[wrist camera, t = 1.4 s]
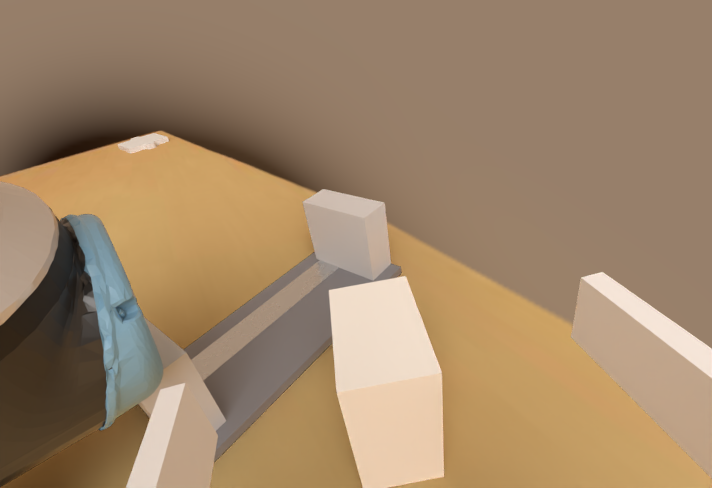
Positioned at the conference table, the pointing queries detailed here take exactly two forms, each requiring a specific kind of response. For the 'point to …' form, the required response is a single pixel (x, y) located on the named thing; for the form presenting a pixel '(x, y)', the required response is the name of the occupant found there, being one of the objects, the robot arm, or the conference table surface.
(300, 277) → the rail board
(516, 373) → the conference table surface
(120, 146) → the mounting plate
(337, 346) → the block
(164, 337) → the block
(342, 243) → the block
